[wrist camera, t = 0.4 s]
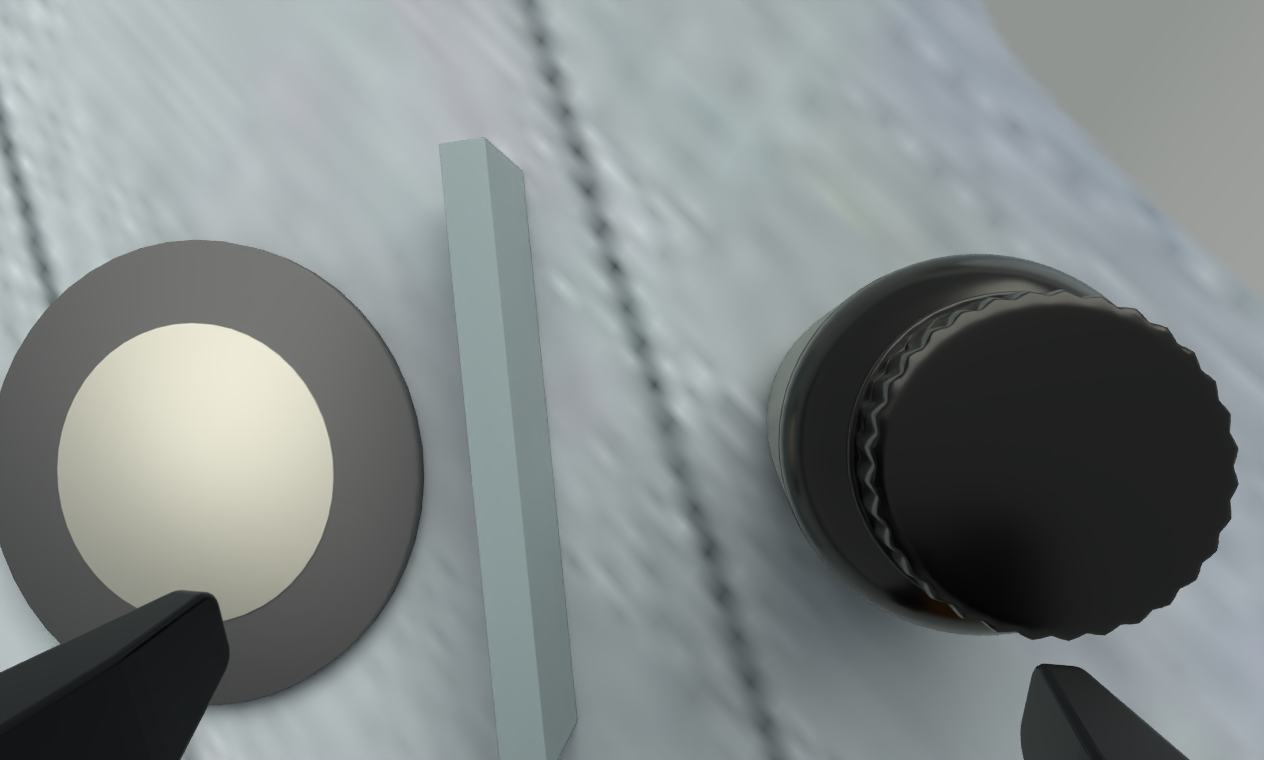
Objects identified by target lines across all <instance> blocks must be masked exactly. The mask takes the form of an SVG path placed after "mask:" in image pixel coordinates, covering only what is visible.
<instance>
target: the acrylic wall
mask: <svg viewBox="0 0 1264 760" xmlns="http://www.w3.org/2000/svg"><path fill="white" fill-rule="evenodd" d="M439 152H440V162H441V172H442V182H443V192H444V202H445V213H446V223H447V233H448V243H449V253H450V263H451V273H452V283H453V294H454V304H455V314H456V324H457V334H458V344H459V354H460V365H461V375H462V385H463V395H464V405H465V415H466V425H467V436H468V446H469V456H470V466H471V476H472V486H473V496H474V507H475V517H476V527H477V537H478V547H479V557H480V567H481V578H482V588H483V598H484V608H485V618H486V628H487V638H488V648H489V659H490V669H491V679H492V689H493V699H494V709H495V719H496V730H497V740H498V750H499V760H558V758H559V756H560V754H561V752H562V750H563V748H564V746H565V744H566V742H567V740H568V738H569V736H570V734H571V732H572V730H573V728H574V726H575V724H576V722H577V714H576V704H575V694H574V684H573V674H572V664H571V654H570V644H569V634H568V623H567V613H566V603H565V593H564V583H563V573H562V563H561V553H560V543H559V533H558V523H557V513H556V503H555V493H554V482H553V472H552V462H551V452H550V442H549V432H548V422H547V412H546V402H545V392H544V382H543V372H542V362H541V351H540V341H539V331H538V321H537V311H536V301H535V291H534V281H533V271H532V261H531V251H530V241H529V231H528V221H527V210H526V200H525V190H524V180H523V171H522V170H521V169H520V168H519V167H518V166H517V165H516V164H514V163H513V162H512V161H511V160H510V159H509V158H508V157H507V156H505V155H504V154H503V153H502V152H501V151H500V150H499V149H497V148H496V147H495V146H494V145H493V144H492V143H491V142H489V141H488V140H487V139H486V138H485V137H483V138H476V139H469V140H462V141H455V142H449V143H442V144H439Z"/></svg>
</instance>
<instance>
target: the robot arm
mask: <svg viewBox="0 0 1264 760" xmlns="http://www.w3.org/2000/svg"><path fill="white" fill-rule="evenodd" d="M229 658H230V646H229V642H228V638H227V634H226V630H225V626H224V623H223V619H222V615H221V611H220V607H219V604H218V601H217V599H216V598H215V597H214V595H213V594H211V593H209V592H203V591H192V590H176V591H173V592H170V593H168V594H166V595H164V596H162V597H160V598H158V599H156V600H153V601H151V602H149V603H147V604H145V605H143V606H141V607H139V608H136V609H134V610H132V611H130V612H128V613H126V614H124V615H122V616H119V617H117V618H115V619H113V620H111V621H109V622H107V623H105V624H102V625H100V626H98V627H96V628H94V629H92V630H90V631H88V632H85V633H83V634H81V635H79V636H77V637H75V638H73V639H70V640H68V641H66V642H64V643H62V644H60V645H58V646H56V647H53V648H51V649H49V650H47V651H45V652H43V653H41V654H39V655H36V656H34V657H32V658H30V659H28V660H26V661H24V662H22V663H19V664H17V665H15V666H13V667H11V668H9V669H7V670H5V671H2V672H0V760H181V758H182V756H183V754H184V752H185V750H186V748H187V746H188V744H189V742H190V740H191V738H192V736H193V734H194V732H195V730H196V728H197V726H198V724H199V722H200V721H201V719H202V717H203V715H204V713H205V711H206V709H207V707H208V705H209V703H210V701H211V699H212V697H213V695H214V693H215V691H216V689H217V687H218V685H219V683H220V681H221V679H222V678H223V676H224V674H225V672H226V669H227V666H228V663H229ZM1020 733H1021V748H1022V753H1023V758H1024V760H1189V759H1188V758H1187V757H1186V756H1185V755H1183V754H1182V753H1181V752H1180V751H1179V750H1178V749H1176V748H1175V747H1174V746H1173V745H1172V744H1171V743H1169V742H1168V741H1167V740H1166V739H1165V738H1164V737H1162V736H1161V735H1160V734H1159V733H1158V732H1157V731H1155V730H1154V729H1153V728H1152V727H1151V726H1150V725H1148V724H1147V723H1146V722H1145V721H1144V720H1143V719H1141V718H1140V717H1139V716H1138V715H1137V714H1135V713H1134V712H1133V711H1132V710H1131V709H1130V708H1128V707H1127V706H1126V705H1125V704H1124V703H1123V702H1121V701H1120V700H1119V699H1118V698H1117V697H1116V696H1114V695H1113V694H1112V693H1111V692H1110V691H1109V690H1107V689H1106V688H1105V687H1104V686H1103V685H1102V684H1100V683H1099V682H1098V681H1097V680H1096V679H1095V678H1093V677H1092V676H1091V675H1090V674H1089V673H1087V672H1086V671H1085V670H1083V669H1081V668H1079V667H1075V666H1066V665H1054V664H1041V665H1039V666H1037V667H1036V668H1035V670H1034V671H1033V674H1032V677H1031V682H1030V686H1029V691H1028V695H1027V700H1026V704H1025V709H1024V713H1023V718H1022V723H1021V732H1020Z"/></svg>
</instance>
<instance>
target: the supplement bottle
mask: <svg viewBox="0 0 1264 760" xmlns="http://www.w3.org/2000/svg"><path fill="white" fill-rule="evenodd" d="M1230 424H1231V414H1230V413H1229V411H1228V410H1227V409H1226V407H1225V406H1224V405H1222V403H1221V402H1220V401H1219V398H1218V390H1217V385H1216V381H1215V380H1213V379H1212V378H1211V377H1210V376H1209V375H1207V374H1205V373H1204V372H1203V371H1202V370H1201V368H1200V365H1199V362H1198V360H1197V357H1196V355H1195V353H1194V352H1193V351H1191V350H1189V349H1188V348H1186V347H1183V346H1181V345H1179V344H1178V343H1177V342H1176V340H1175V338H1174V337H1173V335H1172V334H1171V332H1170V331H1169V329H1168V328H1167V327H1164V326H1161V325H1157V324H1153V323H1149V322H1148V320H1147V319H1146V318H1145V317H1144V316H1143V315H1142V314H1141V313H1140V312H1139V311H1138V310H1137V309H1135V308H1127V307H1117V306H1115V305H1114V304H1113V303H1112V302H1111V301H1109V300H1108V299H1107V298H1106V297H1104V296H1103V295H1102V294H1100V293H1099V292H1097V291H1096V290H1094V289H1093V288H1091V287H1090V286H1089V285H1087V284H1085V283H1083V282H1082V281H1080V280H1078V279H1076V278H1074V277H1072V276H1070V275H1068V274H1066V273H1064V272H1061V271H1059V270H1056V269H1054V268H1052V267H1049V266H1046V265H1043V264H1039V263H1036V262H1033V261H1029V260H1025V259H1020V258H1015V257H1010V256H1001V255H992V254H966V255H953V256H947V257H941V258H935V259H931V260H927V261H924V262H920V263H916V264H913V265H910V266H907V267H905V268H902V269H899V270H897V271H894V272H892V273H889V274H887V275H885V276H883V277H881V278H879V279H877V280H875V281H874V282H872V283H870V284H869V285H867V286H865V287H864V288H862V289H860V290H859V291H857V292H856V293H855V294H853V295H852V296H850V297H849V298H848V299H846V300H845V301H844V302H842V303H841V304H840V305H838V306H837V307H835V308H834V309H833V310H831V311H830V312H829V313H827V314H826V315H825V316H823V317H822V318H821V319H819V320H818V321H817V322H815V323H814V324H813V325H812V326H811V327H810V328H809V329H808V330H806V331H805V332H804V334H803V335H802V336H801V337H800V338H799V339H798V340H797V341H796V342H795V344H794V345H793V346H792V348H791V349H790V350H789V352H788V353H787V355H786V356H785V358H784V360H783V362H782V363H781V365H780V367H779V369H778V372H777V374H776V376H775V379H774V382H773V385H772V388H771V392H770V396H769V401H768V409H767V436H768V442H769V448H770V453H771V456H772V460H773V464H774V466H775V469H776V472H777V474H778V477H779V479H780V482H781V484H782V487H783V489H784V492H785V494H786V497H787V499H788V502H789V504H790V507H791V509H792V511H793V513H794V515H795V518H796V520H797V522H798V524H799V526H800V528H801V530H802V531H803V533H804V535H805V536H806V538H807V539H808V541H809V543H810V544H811V546H812V547H813V548H814V550H815V551H816V552H817V554H818V555H819V556H820V558H821V559H822V560H823V561H824V562H825V563H826V565H827V566H828V567H829V568H830V569H831V570H832V571H833V572H834V573H835V574H836V575H837V577H839V578H840V579H841V580H842V581H843V582H844V583H845V584H846V585H847V586H849V587H850V588H851V589H852V590H853V591H855V592H856V593H857V594H859V595H860V596H861V597H863V598H864V599H865V600H867V601H868V602H870V603H872V604H873V605H875V606H877V607H878V608H880V609H882V610H883V611H885V612H888V613H890V614H892V615H894V616H896V617H898V618H900V619H903V620H905V621H908V622H911V623H913V624H916V625H919V626H922V627H926V628H930V629H934V630H937V631H943V632H949V633H955V634H963V635H977V636H982V635H1004V634H1012V633H1019V634H1020V635H1022V636H1024V637H1026V638H1028V639H1031V640H1035V639H1041V638H1045V637H1048V636H1055V637H1056V638H1059V639H1063V640H1067V641H1070V640H1072V639H1075V638H1078V637H1080V636H1082V635H1084V634H1086V633H1089V634H1094V635H1106V634H1108V633H1109V632H1111V631H1113V630H1114V629H1116V628H1117V627H1118V626H1119V625H1123V624H1137V623H1140V622H1141V621H1142V620H1143V619H1144V618H1146V617H1147V615H1148V614H1149V613H1150V612H1151V611H1152V610H1154V609H1158V608H1162V607H1165V606H1167V605H1170V604H1171V603H1172V601H1173V600H1174V598H1175V597H1176V594H1177V592H1178V591H1179V589H1180V588H1183V587H1185V586H1187V585H1189V584H1190V583H1192V582H1194V581H1195V580H1196V579H1197V577H1198V575H1199V572H1200V568H1201V565H1202V563H1203V562H1204V561H1205V560H1207V559H1208V558H1210V557H1211V556H1212V555H1213V554H1214V553H1215V552H1216V551H1217V548H1218V543H1219V534H1220V532H1221V531H1222V530H1223V529H1224V527H1225V526H1226V525H1227V524H1228V522H1229V521H1230V520H1231V503H1230V500H1231V498H1232V496H1233V495H1234V493H1235V491H1236V489H1237V486H1238V479H1237V475H1236V473H1235V470H1234V463H1235V460H1236V457H1237V453H1238V447H1237V445H1236V443H1235V440H1234V439H1233V437H1232V435H1231V434H1230Z"/></svg>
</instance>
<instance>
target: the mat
mask: <svg viewBox="0 0 1264 760" xmlns="http://www.w3.org/2000/svg"><path fill="white" fill-rule="evenodd" d="M423 482H424V472H423V453H422V443H421V437H420V432H419V426H418V421H417V416H416V412H415V409H414V406H413V403H412V400H411V396H410V393H409V390H408V387H407V385H406V382H405V380H404V378H403V376H402V374H401V371H400V369H399V367H398V365H397V363H396V360H395V358H394V357H393V355H392V354H391V352H390V350H389V349H388V347H387V346H386V344H385V342H384V341H383V339H382V338H381V336H380V334H379V333H378V332H377V330H376V329H375V328H374V327H373V325H372V324H371V323H370V322H369V321H368V319H367V318H366V317H365V316H364V314H363V313H362V312H361V311H360V310H359V309H358V308H357V307H356V306H355V305H354V304H353V303H352V302H351V301H350V300H349V299H348V298H347V297H345V296H344V295H343V294H342V293H341V292H340V291H339V290H338V289H336V288H335V287H334V286H332V285H331V284H329V283H328V282H327V281H325V280H324V279H322V278H321V277H320V276H318V275H317V274H315V273H314V272H312V271H310V270H308V269H306V268H304V267H302V266H300V265H299V264H297V263H295V262H293V261H291V260H289V259H286V258H283V257H280V256H278V255H275V254H272V253H269V252H267V251H264V250H260V249H256V248H252V247H247V246H243V245H238V244H233V243H228V242H222V241H206V240H188V241H176V242H166V243H162V244H157V245H153V246H149V247H144V248H140V249H138V250H135V251H132V252H130V253H127V254H125V255H122V256H119V257H117V258H114V259H112V260H111V261H109V262H107V263H105V264H103V265H102V266H100V267H98V268H96V269H94V270H93V271H91V272H89V273H88V274H87V275H85V276H84V277H83V278H81V279H80V280H79V281H77V282H76V283H75V284H73V285H72V286H70V287H69V288H68V289H67V290H66V291H65V292H64V293H63V294H62V295H61V296H60V297H59V298H58V299H57V300H56V301H55V302H53V303H52V304H51V305H50V306H49V307H48V308H47V310H46V311H45V312H44V314H43V315H42V316H41V317H40V319H39V320H38V321H37V322H36V324H35V325H34V326H33V327H32V329H31V330H30V332H29V333H28V335H27V337H26V338H25V340H24V342H23V343H22V345H21V347H20V348H19V350H18V352H17V353H16V355H15V357H14V359H13V362H12V364H11V366H10V368H9V371H8V373H7V375H6V377H5V380H4V382H3V385H2V389H1V392H0V545H1V548H2V551H3V554H4V557H5V559H6V561H7V564H8V566H9V568H10V571H11V573H12V576H13V578H14V580H15V582H16V584H17V585H18V587H19V589H20V591H21V592H22V594H23V596H24V598H25V599H26V601H27V603H28V605H29V606H30V607H31V609H32V610H33V611H34V613H35V614H36V616H37V617H38V618H39V620H40V621H41V622H42V624H43V625H44V626H45V628H46V629H47V630H48V631H49V632H50V633H51V634H52V635H53V636H54V637H55V638H56V639H57V640H58V641H59V642H60V643H61V644H62V643H64V642H66V641H68V640H70V639H73V638H75V637H77V636H79V635H81V634H83V633H85V632H88V631H90V630H92V629H94V628H96V627H98V626H100V625H102V624H105V623H107V622H109V621H111V620H113V619H115V618H117V617H119V616H122V615H124V614H126V613H128V612H130V611H132V610H134V609H136V608H139V607H141V606H143V605H145V604H147V603H149V602H151V601H153V600H156V599H158V598H160V597H162V596H164V595H166V594H168V593H170V592H173V591H176V590H192V591H203V592H209V593H211V594H213V595H214V597H215V598H216V599H217V601H218V604H219V607H220V611H221V615H222V619H223V623H224V626H225V630H226V634H227V638H228V642H229V646H230V658H229V663H228V666H227V669H226V672H225V674H224V676H223V678H222V679H221V681H220V683H219V685H218V687H217V689H216V691H215V693H214V695H213V697H212V699H211V701H210V703H209V705H225V704H232V703H239V702H246V701H250V700H254V699H257V698H260V697H264V696H267V695H271V694H274V693H277V692H279V691H281V690H283V689H285V688H288V687H290V686H292V685H294V684H296V683H299V682H301V681H302V680H304V679H305V678H307V677H309V676H310V675H312V674H313V673H315V672H316V671H318V670H320V669H321V668H323V667H324V666H326V665H327V664H329V663H330V662H332V661H333V660H334V659H336V658H337V657H338V656H339V655H340V654H342V653H343V652H344V651H345V650H346V649H347V648H349V647H350V646H351V645H352V644H353V643H354V642H356V641H357V640H358V639H359V637H360V636H361V635H362V634H363V633H364V632H365V631H366V629H367V628H368V627H369V626H370V625H371V624H372V623H373V622H374V620H375V619H376V618H377V617H378V615H379V614H380V612H381V611H382V609H383V608H384V606H385V605H386V603H387V602H388V600H389V599H390V597H391V596H392V594H393V592H394V590H395V588H396V586H397V584H398V582H399V580H400V578H401V576H402V574H403V572H404V570H405V568H406V565H407V562H408V559H409V556H410V553H411V550H412V547H413V544H414V541H415V538H416V533H417V528H418V523H419V519H420V514H421V509H422V495H423Z"/></svg>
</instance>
